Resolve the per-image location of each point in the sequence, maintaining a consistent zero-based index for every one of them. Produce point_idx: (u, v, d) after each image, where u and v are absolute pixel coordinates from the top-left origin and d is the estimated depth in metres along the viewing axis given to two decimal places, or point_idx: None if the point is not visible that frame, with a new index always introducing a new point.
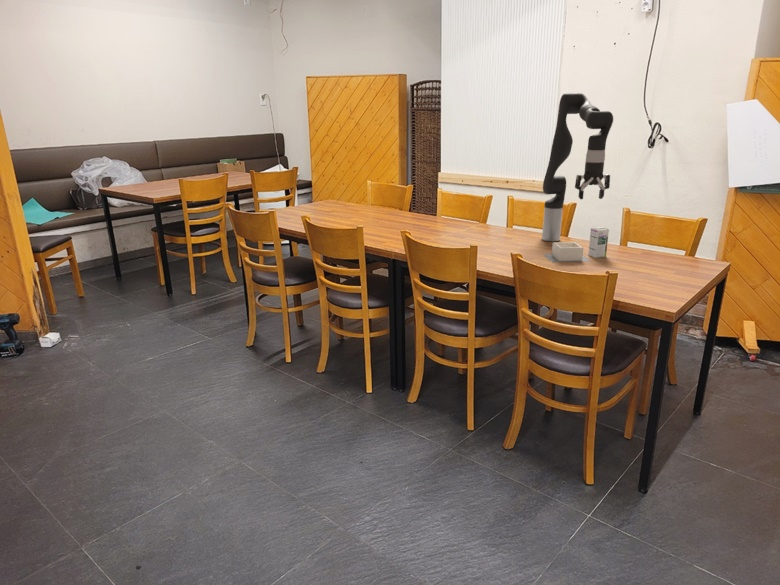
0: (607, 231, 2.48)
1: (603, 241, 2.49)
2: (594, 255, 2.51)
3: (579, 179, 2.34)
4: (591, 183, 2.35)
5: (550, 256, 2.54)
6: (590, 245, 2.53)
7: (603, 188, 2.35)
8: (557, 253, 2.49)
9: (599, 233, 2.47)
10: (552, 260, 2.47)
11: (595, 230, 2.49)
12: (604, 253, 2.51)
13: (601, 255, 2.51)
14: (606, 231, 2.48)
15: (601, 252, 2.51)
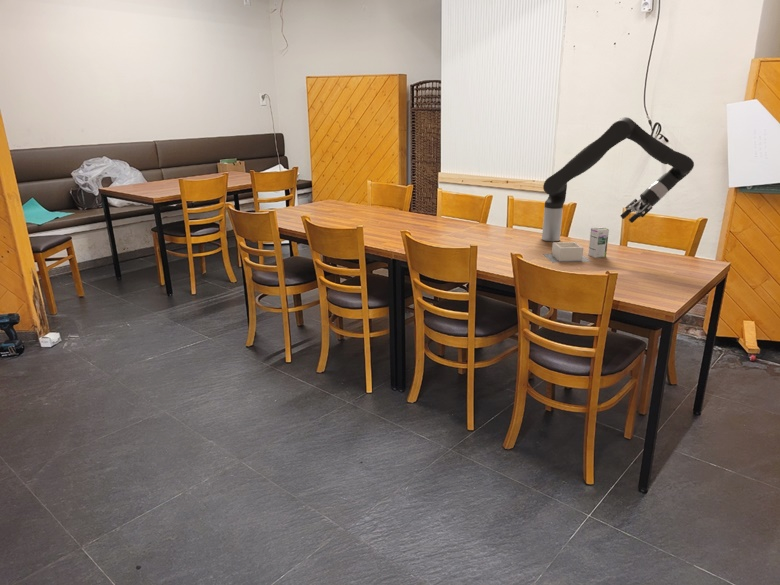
0: (607, 231, 2.48)
1: (603, 241, 2.49)
2: (594, 255, 2.51)
3: None
4: None
5: (550, 256, 2.54)
6: (590, 245, 2.53)
7: None
8: (557, 253, 2.49)
9: (599, 233, 2.47)
10: (552, 260, 2.47)
11: (595, 230, 2.49)
12: (604, 253, 2.51)
13: (601, 255, 2.51)
14: (606, 231, 2.48)
15: (601, 252, 2.51)
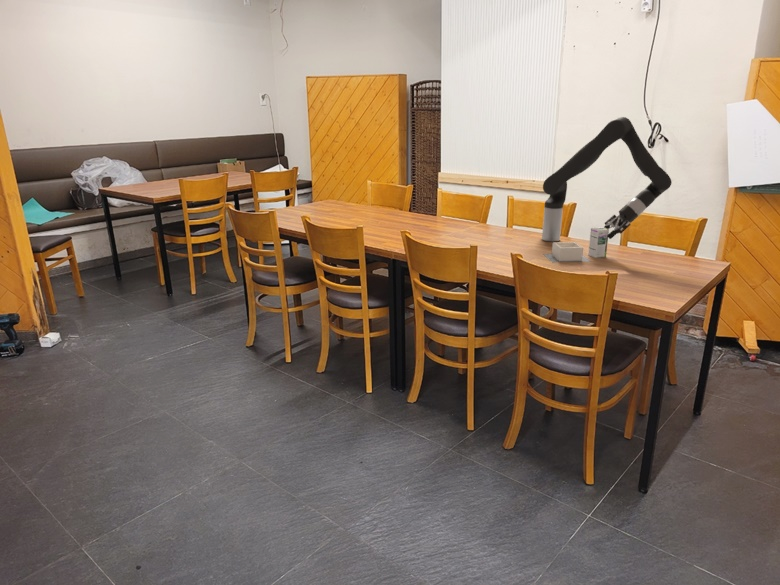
0: (607, 231, 2.48)
1: (603, 241, 2.49)
2: (594, 255, 2.51)
3: None
4: None
5: (550, 256, 2.54)
6: (590, 245, 2.53)
7: None
8: (557, 253, 2.49)
9: (599, 233, 2.47)
10: (552, 260, 2.47)
11: (595, 230, 2.49)
12: (604, 253, 2.51)
13: (601, 255, 2.51)
14: (606, 231, 2.48)
15: (601, 252, 2.51)
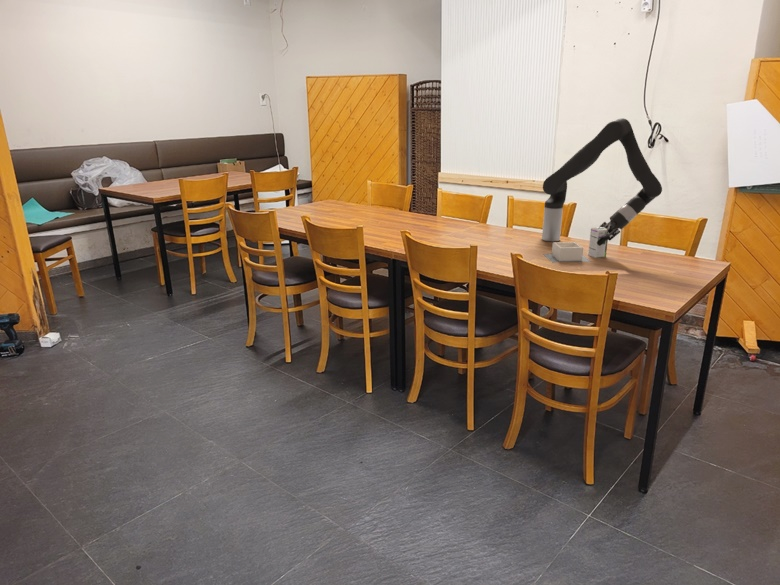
0: None
1: None
2: (594, 255, 2.51)
3: None
4: None
5: (550, 256, 2.54)
6: (590, 245, 2.53)
7: None
8: (557, 253, 2.49)
9: (599, 233, 2.47)
10: (552, 260, 2.47)
11: (595, 230, 2.49)
12: (604, 253, 2.51)
13: (601, 255, 2.51)
14: None
15: (601, 252, 2.51)
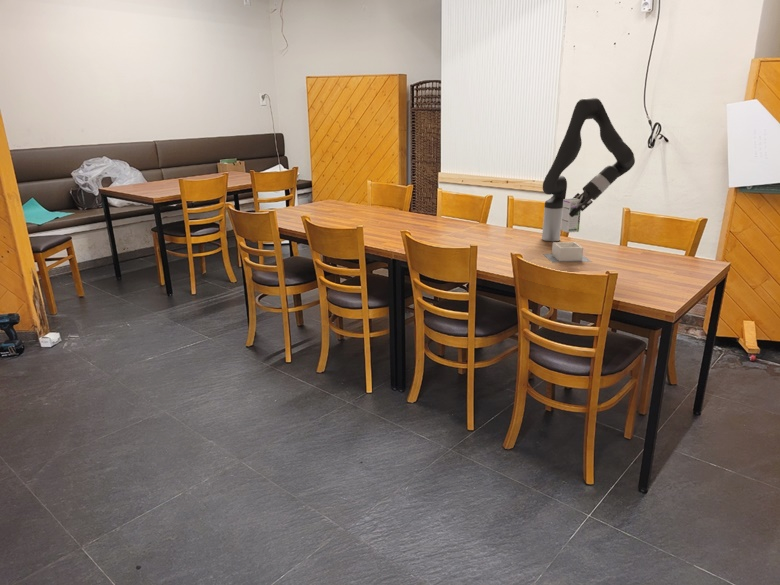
0: None
1: None
2: (567, 227, 2.44)
3: None
4: None
5: (550, 256, 2.54)
6: (563, 217, 2.46)
7: None
8: (557, 253, 2.49)
9: (571, 204, 2.40)
10: (552, 260, 2.47)
11: (567, 201, 2.42)
12: (577, 225, 2.44)
13: (574, 227, 2.44)
14: None
15: (574, 223, 2.43)
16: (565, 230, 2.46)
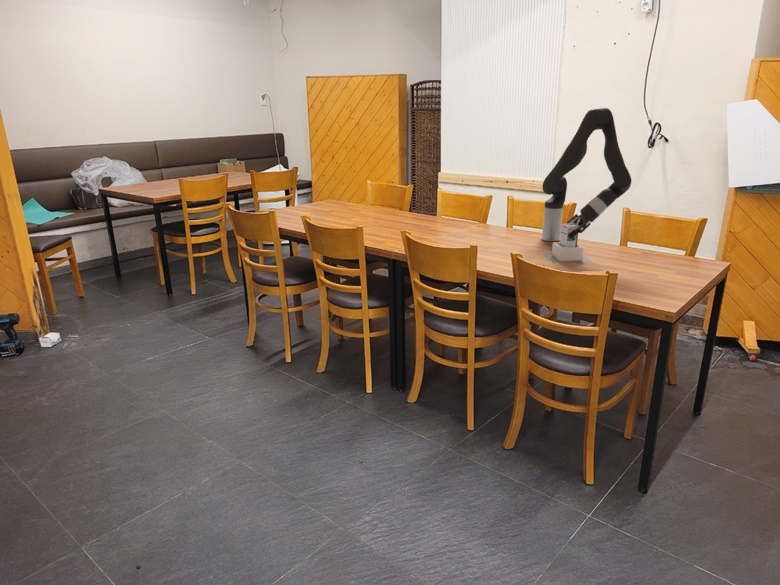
0: None
1: (572, 238, 2.46)
2: None
3: None
4: None
5: (550, 256, 2.54)
6: (560, 241, 2.50)
7: None
8: (557, 253, 2.49)
9: (568, 229, 2.44)
10: (552, 260, 2.47)
11: (565, 226, 2.46)
12: None
13: None
14: None
15: None
16: None
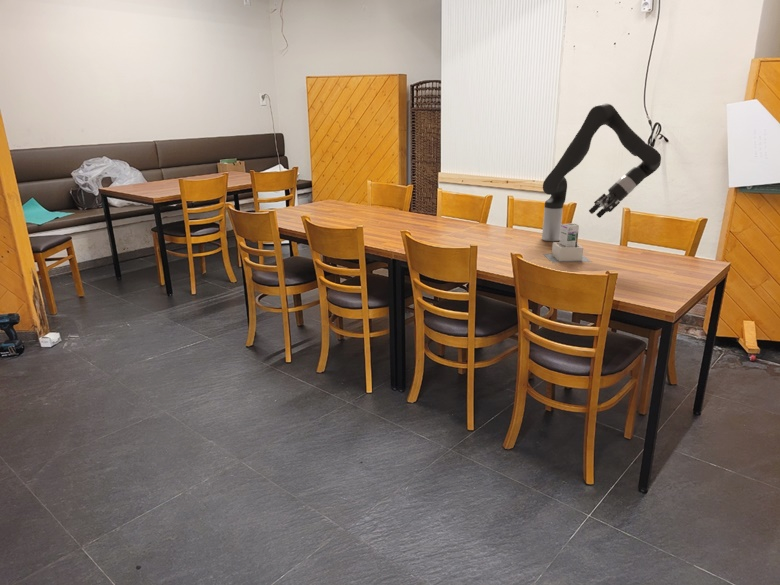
0: (577, 227, 2.45)
1: (572, 238, 2.46)
2: None
3: None
4: None
5: (550, 256, 2.54)
6: (560, 241, 2.50)
7: None
8: (557, 253, 2.49)
9: (568, 229, 2.44)
10: (552, 260, 2.47)
11: (565, 226, 2.46)
12: None
13: None
14: (576, 227, 2.45)
15: None
16: None
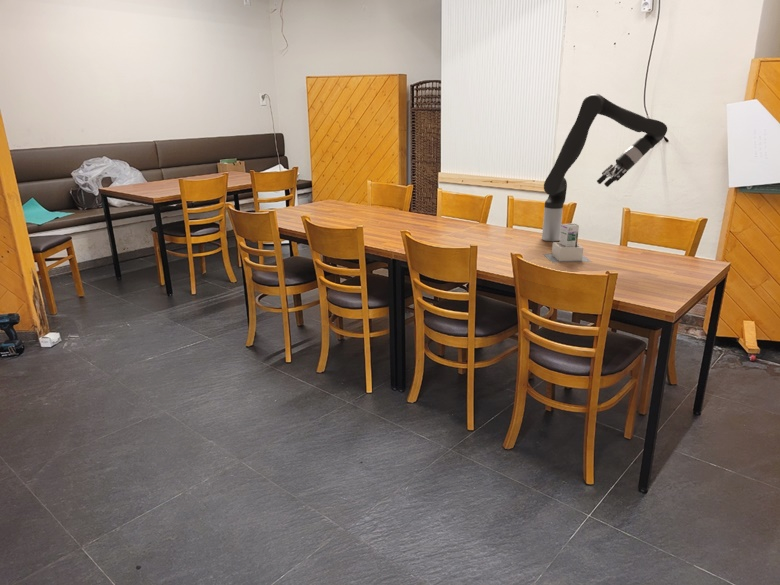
0: (577, 227, 2.45)
1: (572, 238, 2.46)
2: None
3: None
4: None
5: (550, 256, 2.54)
6: (560, 241, 2.50)
7: None
8: (557, 253, 2.49)
9: (568, 229, 2.44)
10: (552, 260, 2.47)
11: (565, 226, 2.46)
12: None
13: None
14: (576, 227, 2.45)
15: None
16: None
